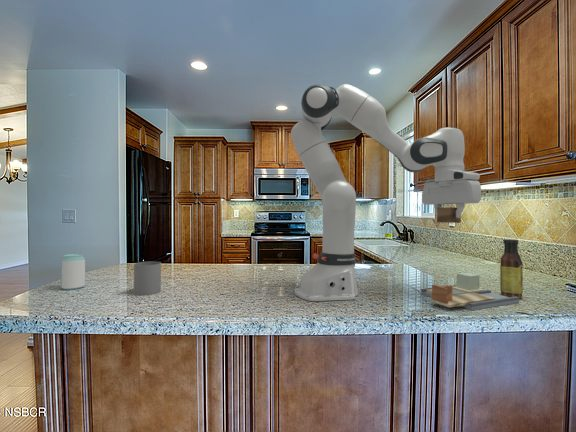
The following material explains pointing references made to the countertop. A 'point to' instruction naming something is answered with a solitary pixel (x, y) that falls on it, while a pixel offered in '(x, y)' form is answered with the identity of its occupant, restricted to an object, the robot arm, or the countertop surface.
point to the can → (72, 271)
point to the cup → (147, 278)
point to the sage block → (468, 281)
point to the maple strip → (455, 297)
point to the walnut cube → (447, 215)
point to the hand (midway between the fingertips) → (448, 217)
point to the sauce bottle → (511, 270)
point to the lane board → (478, 305)
